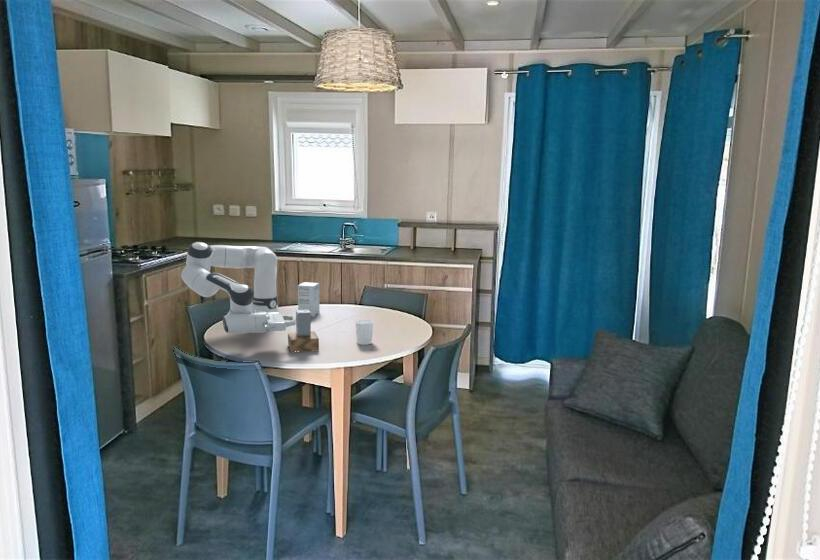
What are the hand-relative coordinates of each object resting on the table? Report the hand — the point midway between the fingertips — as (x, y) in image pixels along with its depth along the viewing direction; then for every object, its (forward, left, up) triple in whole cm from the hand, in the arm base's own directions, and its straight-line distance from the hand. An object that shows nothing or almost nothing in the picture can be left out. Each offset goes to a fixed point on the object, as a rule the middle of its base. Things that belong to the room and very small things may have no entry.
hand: (294, 320), depth 282 cm
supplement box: (-43, +50, -13) cm, 67 cm away
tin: (+2, +3, -7) cm, 8 cm away
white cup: (+18, +27, -13) cm, 35 cm away
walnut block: (+2, +3, -13) cm, 14 cm away
